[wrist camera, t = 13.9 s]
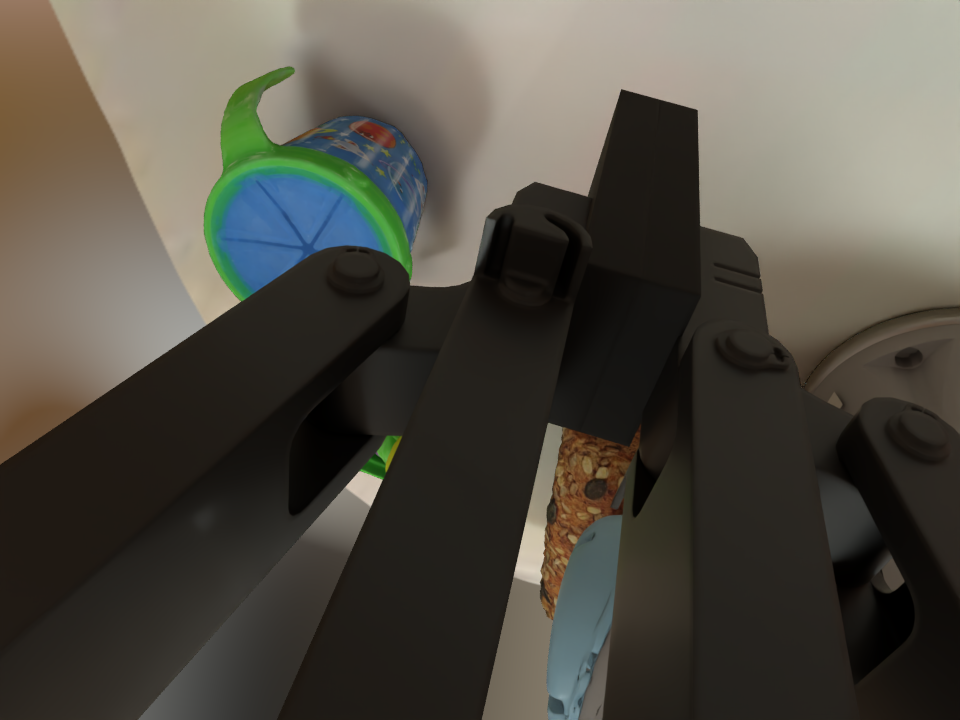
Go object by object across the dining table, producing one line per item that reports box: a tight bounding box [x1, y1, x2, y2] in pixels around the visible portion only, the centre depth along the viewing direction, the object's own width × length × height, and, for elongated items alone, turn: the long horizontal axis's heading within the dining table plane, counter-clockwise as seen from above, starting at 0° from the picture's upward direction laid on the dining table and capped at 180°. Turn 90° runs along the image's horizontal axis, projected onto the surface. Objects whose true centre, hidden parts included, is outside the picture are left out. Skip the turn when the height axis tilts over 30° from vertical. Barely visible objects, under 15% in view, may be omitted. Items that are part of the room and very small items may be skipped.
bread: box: [540, 424, 641, 620], centre depth 50 cm, size 19×11×10 cm, turn 179°
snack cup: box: [204, 67, 427, 302], centre depth 40 cm, size 16×10×10 cm
